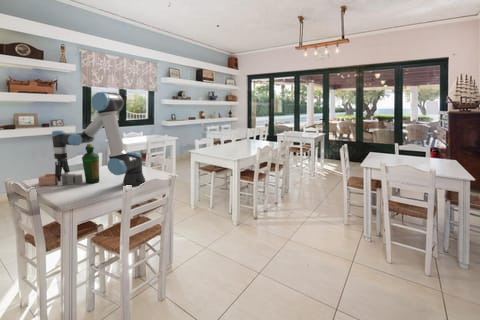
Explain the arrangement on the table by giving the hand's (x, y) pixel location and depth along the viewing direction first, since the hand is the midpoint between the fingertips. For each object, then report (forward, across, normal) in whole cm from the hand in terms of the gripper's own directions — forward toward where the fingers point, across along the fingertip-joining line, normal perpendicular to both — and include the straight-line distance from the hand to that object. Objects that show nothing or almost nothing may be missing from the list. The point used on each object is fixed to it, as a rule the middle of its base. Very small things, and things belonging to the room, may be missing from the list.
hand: (63, 183), depth 194 cm
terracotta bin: (0, -1, -9) cm, 9 cm away
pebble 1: (0, 0, 0) cm, 0 cm away
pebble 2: (0, 0, +10) cm, 10 cm away
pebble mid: (0, 0, +5) cm, 5 cm away
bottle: (0, -1, +19) cm, 19 cm away
